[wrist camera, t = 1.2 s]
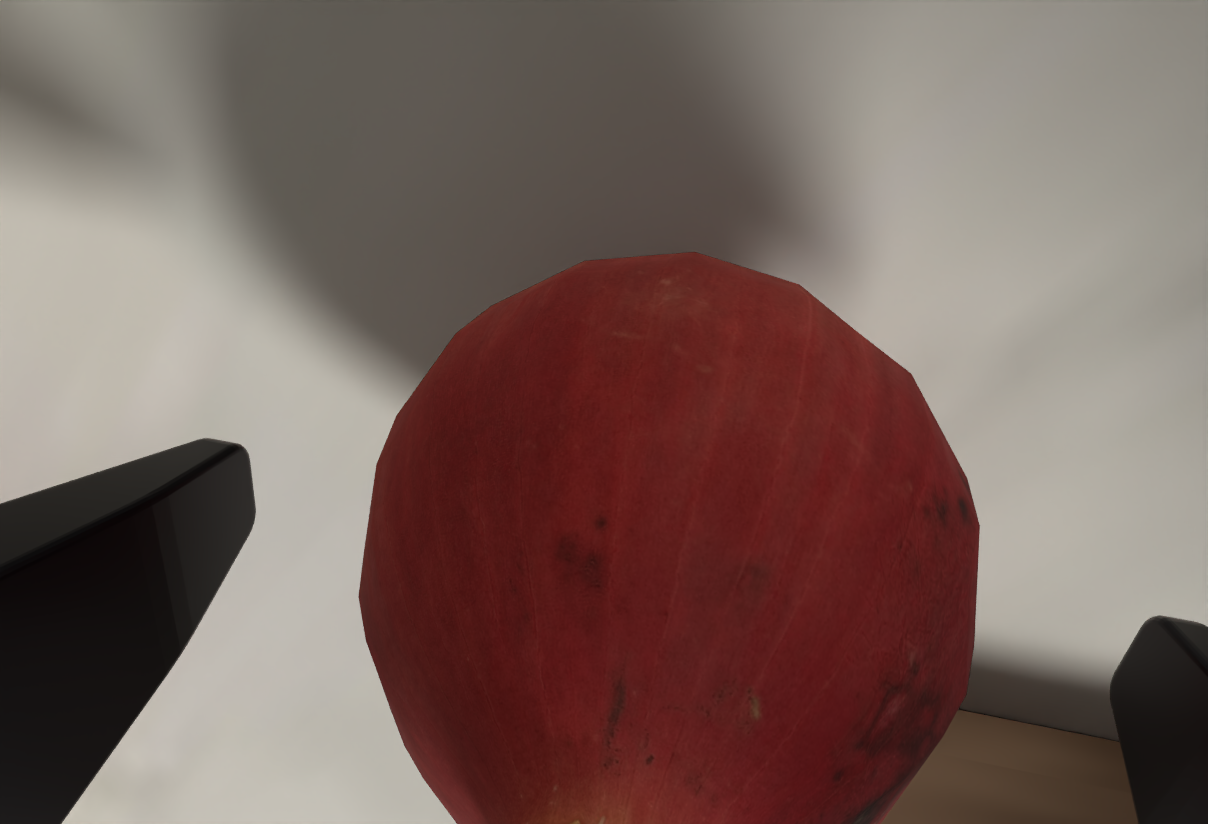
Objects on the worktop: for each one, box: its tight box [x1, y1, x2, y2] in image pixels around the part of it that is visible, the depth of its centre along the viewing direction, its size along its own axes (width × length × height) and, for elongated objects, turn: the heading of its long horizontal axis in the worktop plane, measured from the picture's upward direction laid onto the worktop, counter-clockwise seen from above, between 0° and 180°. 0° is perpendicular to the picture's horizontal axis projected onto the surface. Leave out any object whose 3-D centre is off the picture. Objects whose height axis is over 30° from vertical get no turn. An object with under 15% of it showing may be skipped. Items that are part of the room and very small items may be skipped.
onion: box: [359, 252, 980, 824], centre depth 8 cm, size 6×6×8 cm
